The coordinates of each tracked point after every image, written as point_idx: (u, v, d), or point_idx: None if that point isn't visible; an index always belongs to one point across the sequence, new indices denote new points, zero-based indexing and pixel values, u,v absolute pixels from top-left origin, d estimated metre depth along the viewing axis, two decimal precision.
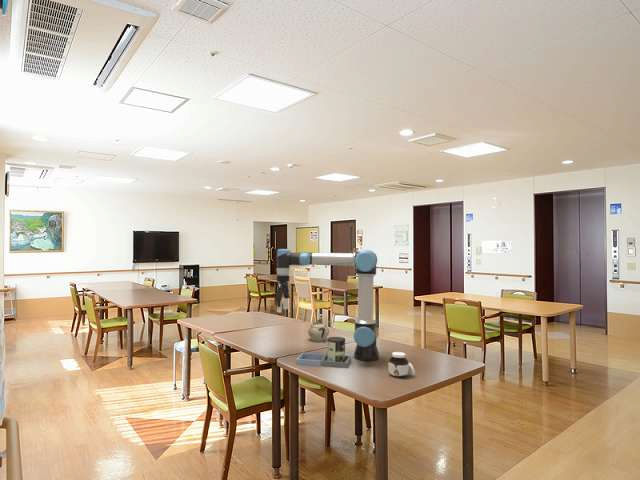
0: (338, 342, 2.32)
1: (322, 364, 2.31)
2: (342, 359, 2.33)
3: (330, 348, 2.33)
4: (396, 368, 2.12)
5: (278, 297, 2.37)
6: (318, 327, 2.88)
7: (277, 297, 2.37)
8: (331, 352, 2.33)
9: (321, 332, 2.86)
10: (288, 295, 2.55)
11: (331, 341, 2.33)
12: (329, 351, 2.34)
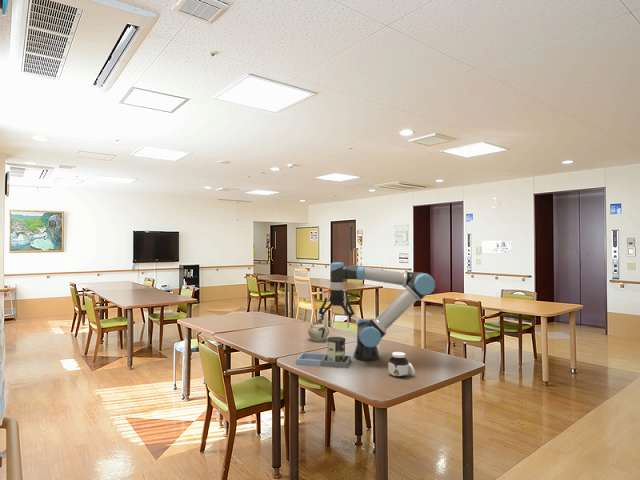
0: (338, 342, 2.32)
1: (322, 364, 2.31)
2: (342, 359, 2.33)
3: (330, 348, 2.33)
4: (396, 368, 2.12)
5: None
6: (318, 327, 2.88)
7: (320, 310, 2.39)
8: (331, 352, 2.33)
9: (321, 332, 2.86)
10: (351, 313, 2.34)
11: (331, 341, 2.33)
12: (329, 351, 2.34)
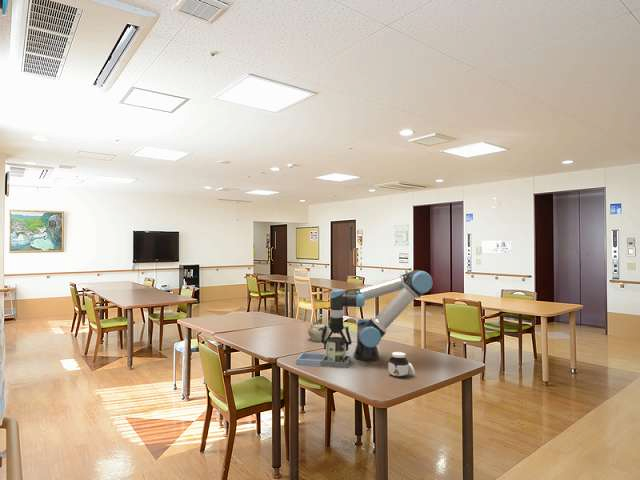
0: (338, 342, 2.32)
1: (322, 364, 2.31)
2: (342, 359, 2.33)
3: (330, 348, 2.33)
4: (396, 368, 2.12)
5: None
6: (318, 327, 2.88)
7: (322, 339, 2.39)
8: (331, 352, 2.33)
9: (321, 332, 2.86)
10: (348, 342, 2.34)
11: (331, 341, 2.33)
12: (329, 351, 2.34)
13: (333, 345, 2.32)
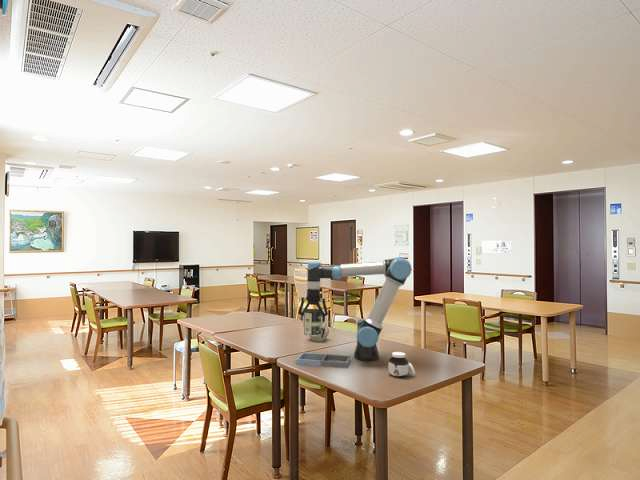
0: (314, 313, 2.35)
1: (322, 364, 2.31)
2: (318, 330, 2.36)
3: (306, 319, 2.36)
4: (396, 368, 2.12)
5: None
6: None
7: (299, 310, 2.42)
8: (307, 323, 2.36)
9: (321, 332, 2.86)
10: (325, 313, 2.37)
11: (307, 312, 2.36)
12: (305, 322, 2.37)
13: (309, 316, 2.35)
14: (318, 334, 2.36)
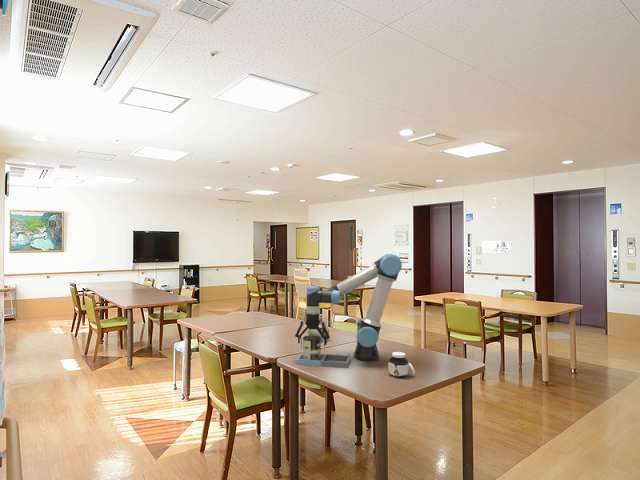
0: (313, 340, 2.35)
1: (322, 364, 2.31)
2: (317, 358, 2.36)
3: (305, 346, 2.36)
4: (396, 368, 2.12)
5: None
6: None
7: (296, 333, 2.42)
8: (306, 350, 2.35)
9: None
10: (326, 337, 2.37)
11: (306, 339, 2.35)
12: (304, 349, 2.36)
13: (308, 343, 2.35)
14: None
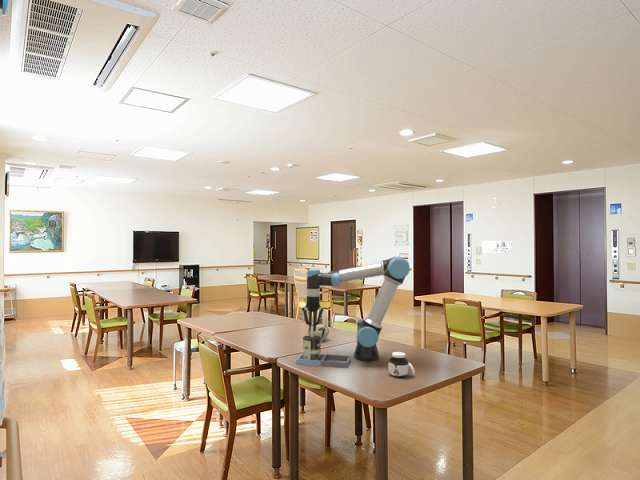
0: (313, 340, 2.35)
1: (322, 364, 2.31)
2: (317, 358, 2.36)
3: (305, 346, 2.36)
4: (396, 368, 2.12)
5: None
6: (318, 327, 2.88)
7: None
8: (306, 350, 2.35)
9: (321, 332, 2.86)
10: None
11: (306, 339, 2.35)
12: (304, 349, 2.36)
13: (308, 343, 2.35)
14: None
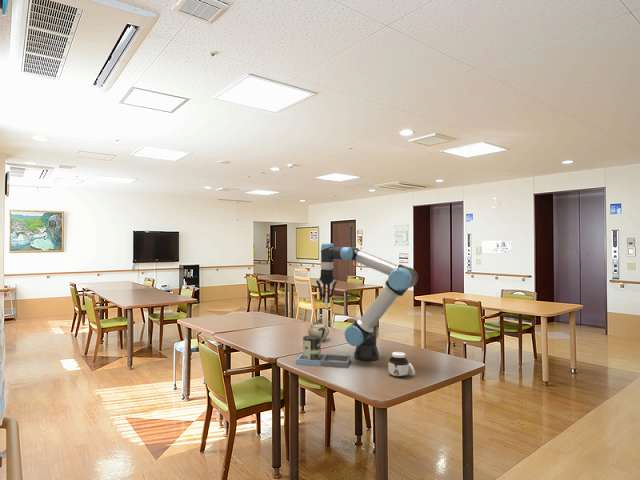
0: (313, 340, 2.35)
1: (322, 364, 2.31)
2: (317, 358, 2.36)
3: (305, 346, 2.36)
4: (396, 368, 2.12)
5: None
6: (318, 327, 2.88)
7: None
8: (306, 350, 2.35)
9: (321, 332, 2.86)
10: None
11: (306, 339, 2.35)
12: (304, 349, 2.36)
13: (308, 343, 2.35)
14: None
